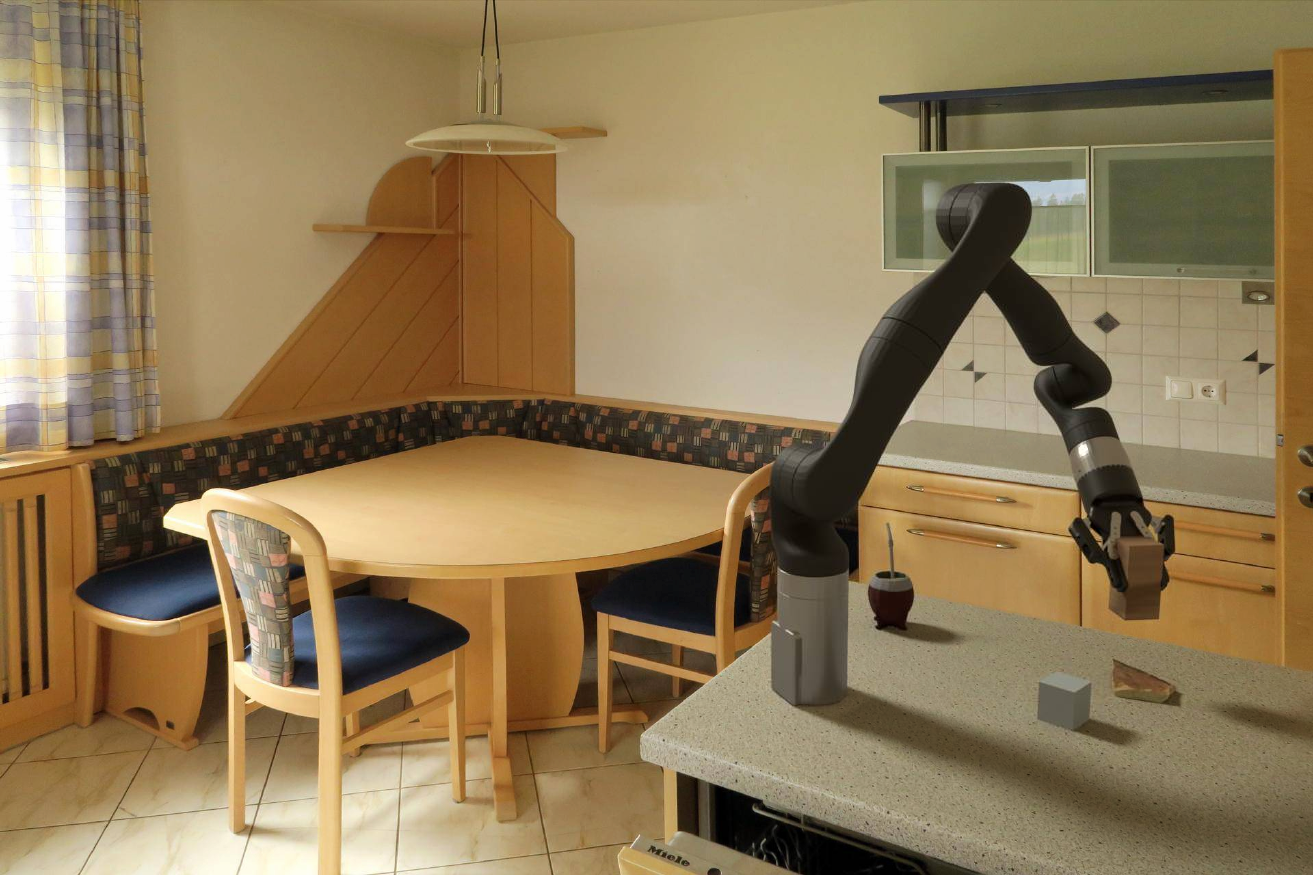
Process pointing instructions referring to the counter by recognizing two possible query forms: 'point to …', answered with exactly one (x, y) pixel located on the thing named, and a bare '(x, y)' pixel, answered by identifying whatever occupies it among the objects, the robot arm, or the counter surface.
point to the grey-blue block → (1064, 700)
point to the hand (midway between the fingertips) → (1142, 588)
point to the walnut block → (1138, 578)
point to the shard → (1139, 684)
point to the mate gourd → (890, 595)
